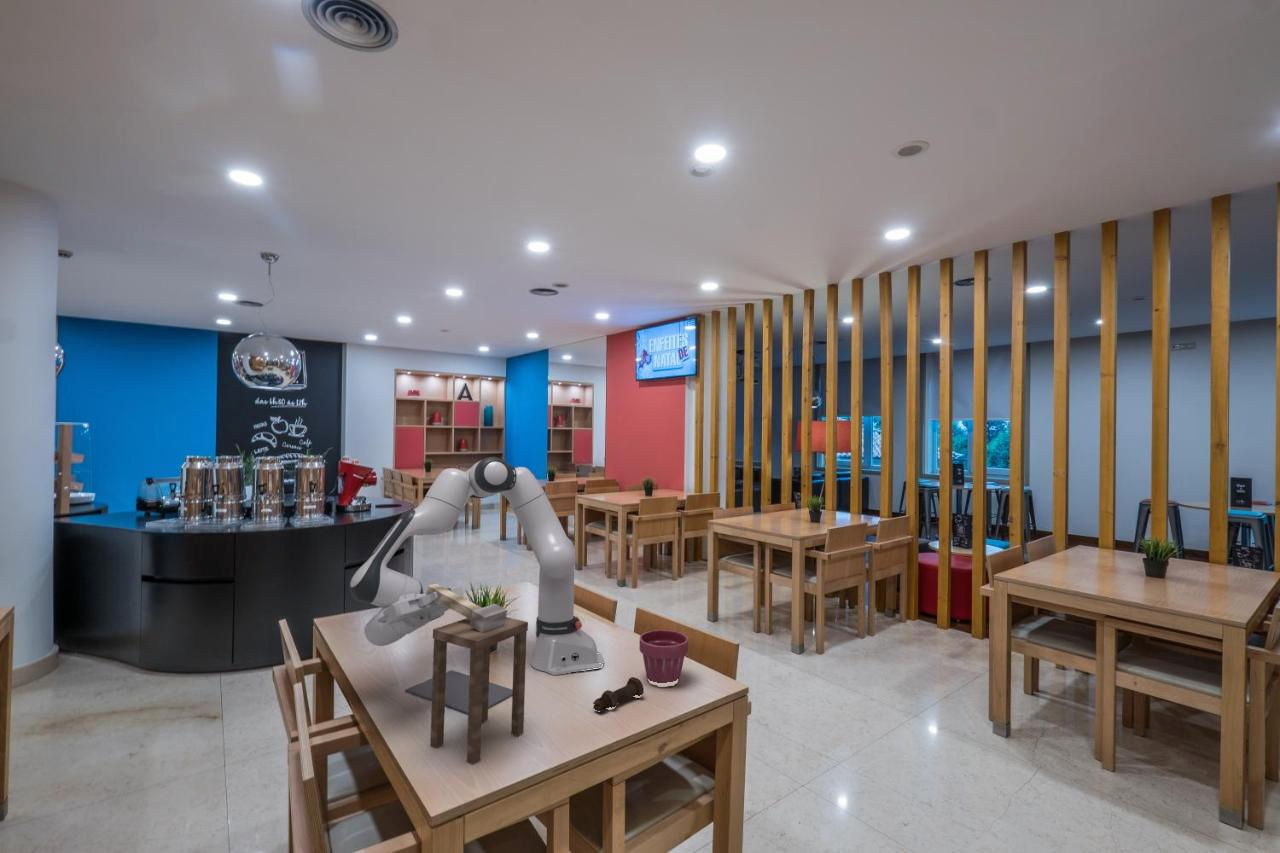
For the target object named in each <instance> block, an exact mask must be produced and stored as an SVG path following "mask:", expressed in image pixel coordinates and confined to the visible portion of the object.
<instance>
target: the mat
mask: <svg viewBox="0 0 1280 853" xmlns="http://www.w3.org/2000/svg"><path fill="white" fill-rule="evenodd" d="M469 677H470V674H469V675H468V674H465V673H462V672H459V671H455V670H453V669H451V670H449V671H446V686H445V708H448V709H451V710H453V711H456V712H459V713H462V714H465V715H466V716H468V708H469ZM432 681H433V677H432V678H430V679H427V680H425V681H423V682H420V683H418V684H415V685H413V686H411V687H408V688H406V689H405V688H404V689H405V690H404V692H405V693H407V692H408V694H410V693H411V695H413V696H415V695H416V696H415V697H418V696H419V698H421V699H424V700H426V699H427V701H429V700H430V701H429V702H432ZM512 692H513V688H509V687H506V686H503V685H501V684H497V683H494V682H490V681H489V698H488V710H489V709H491V708H493V707H495V706H497V705H499V704H500V703H502V702H504V701H506V700H508V699H510V698H511V697H510V696H512ZM509 697H510V698H509ZM507 698H508V699H507ZM505 699H506V700H505ZM503 700H504V701H503ZM498 703H499V704H498ZM496 704H497V705H496Z"/></svg>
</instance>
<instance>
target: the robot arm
mask: <svg viewBox="0 0 1280 853" xmlns="http://www.w3.org/2000/svg"><path fill="white" fill-rule="evenodd" d="M497 494H500V495H502V496H503V497H505V499H506V500H507V501H508V504H509V505H510V507H511V508H512V512H513V513H514V516H515V517H516V519H517V521H518V522H519V524H520V526H521V527H522V530H523V532H524V534H525V536H526V538H527V541H528V543H529V545H530V548H531V550H532V551H533V554H534V556H535V558H536V560H537V563H538V564H539V572H538V573H539V577H538V580H539V581H538V602H537V605H538V606H537V617H536V621H535V636H536V640H535V647H534V651H533V656H532V660H531V663H530V664H531V667H532V668H534V669H535V670H537V671H542V672H545V673H548V674H550V675H551V676H556V675H565V674H567V673H568V674H572V673H571V672H576V671H582V670H587V669H593V668H599V667H601V666H602V664H603V662H604V663H605V658H604V655H602V653H600V652H599V651H598V648H597V644H596V642H595V640H594V639H593V638H592V637H591V636H590V635H589V634H588V633H586V632H585V631H584V630H582V627H583V624H582V621H581V620H580V618H579V617H578V616H575V615H574V612H575V611H574V610H575V609H574V608H575V607H574V606H575V565H576V562H577V560H576V559H577V557H576V551H575V546H574V544H573V543H574V542H573V541H572V540H571V539H570V538H568V536H567V534H566V532H565V530H564V528H563V526H562V524H561V521H560V519H559V518H558V515H557V513H556V512H555V509H554V507H553V506H552V504H551V502H550V500H549V498H548V496H547V494H546V492H545V491H544V489H543V487H542V486H541V483H540V482H539V481H538V480H537V478H536V476H535V475H534V473H532V471H530V469H529V468H527V467H524V466H518V467H513V466H512V465H510V464H509V463H508V462H507V461H505V460H504V459H502V458H500V457H497V456H489V457H485V458H483V459H481V460H479V461H477V462H476V463H474V464H473V465H472V466H471V467H470V468H468V469H467V470H465V471H464V470H461V469H459V468H453V467H451V468H450V467H449V468H446V469H445V468H444V469H443V470H441V472H440V473H439V474H438V476H437V477H436V478H435V480H434V481H433V482H432V484H431V486H430V488H429V489H428V491H427V492H426V494H425V496H424V498H423V500H421V502H420V504H419V505H418V506H416V507H415V508H414V509H409V510H406V511H405V512H404V513H402V514H401V515H400V516H399V517H398V519H397V520H396V521H395V522H394V523H393V525H392V526H391V528H389V530H388V531H387V533H386V534H385V536H384V537H383V538H382V540H381V541H380V542H379V544H377V546H376V547H375V549H374V550H373V551H372V553H371V554H370V555H369V557H368V558H367V559H366V560H365V561H364V563H362V565H361V566H360V567H359V568H357V570H356V571H355V573H354V574H353V576H352V577H351V579H350V583H349V590H350V593H351V595H352V597H353V599H354V600H355V601H356V602H360V603H361V602H362V603H364V604H369V605H370V604H371V605H374V606H377V607H380V608H381V609H380V611H379V612H378V613H376V614H375V615H374V616H373V617H372V618H371V619H369V621H368V622H367V623H366V624H365V625H364V629H363V630H364V636H365V638H366V640H367V641H368V642H369V643H370V644H372V645H374V646H377V647H384V646H389V645H391V644H394V643H396V642H397V641H400V640H401V639H402V638H404V637H405V636H406V635H409V634H411V633H413V632H416V631H417V630H419V629H420V628H422V627H424V626H426V625H427V624H428V623H430V622H432V621H434V620H436V619H439V618H441V617H443V616H444V615H445V612H447V611H449V610H451V609H450V608H449V607H447V606H445V605H443V604H441V603H440V602H438V601H436V600H437V599H439V598H440V597H441V596H440V592H439V591H436V592H433V593H431V594H429V595H426V594H427V593H424V589H423V585H422V582H421V581H420V580H419V579H417V578H415V577H412V576H411V575H407V574H406V573H401V572H400V571H396V570H394V569H391V568H388V567H387V565H388V563H389V561H390V560H391V559H392V557H393V556H394V555H395V553H396V552H397V550H398V549H399V548H400V546H401V545H402V543H403V542H404V541H405V540H406V539H407V538H409V537H411V536H416V535H428V536H429V535H441V534H444V533H447V532H448V531H450V530H452V528H454V526H455V524H457V522H458V520H459V517H460V516H461V513H462V511H463V509H464V507H465V504H466V502H468V499H470V498H474V499H485V498H489V497H490V498H491V497H493V496H496V495H497ZM446 589H447V590H449V591H451V592H453V593H455V594H457V595H459V596H461V597H463V598H464V592H463V590H462V588H461V586H459V585H457V586H453V587H447V588H446ZM464 599H465V598H464ZM597 653H600V654H597ZM599 663H601V664H599ZM576 673H577V672H576Z"/></svg>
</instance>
